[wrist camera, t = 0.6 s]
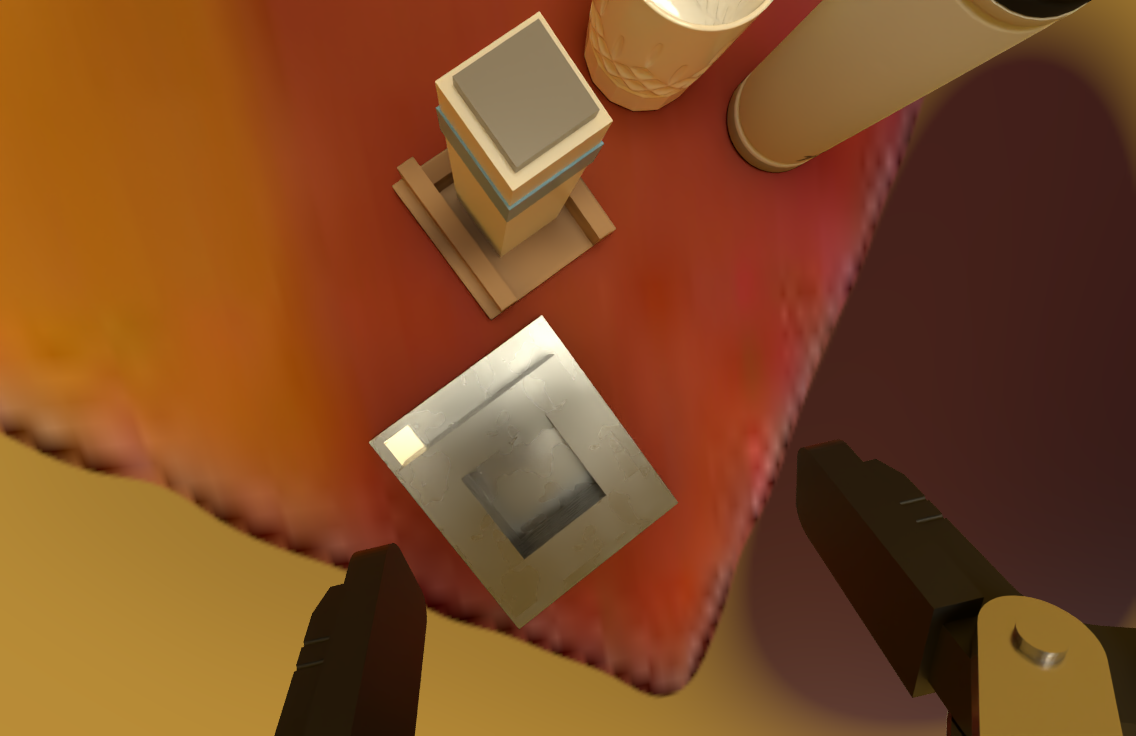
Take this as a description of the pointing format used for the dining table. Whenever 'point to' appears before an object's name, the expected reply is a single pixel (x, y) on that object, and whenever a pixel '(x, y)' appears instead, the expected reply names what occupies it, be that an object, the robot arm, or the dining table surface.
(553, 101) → the plug
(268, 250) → the dining table surface
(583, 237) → the wooden square tray
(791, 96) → the travel mug
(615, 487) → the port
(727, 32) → the white cup
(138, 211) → the dining table surface
